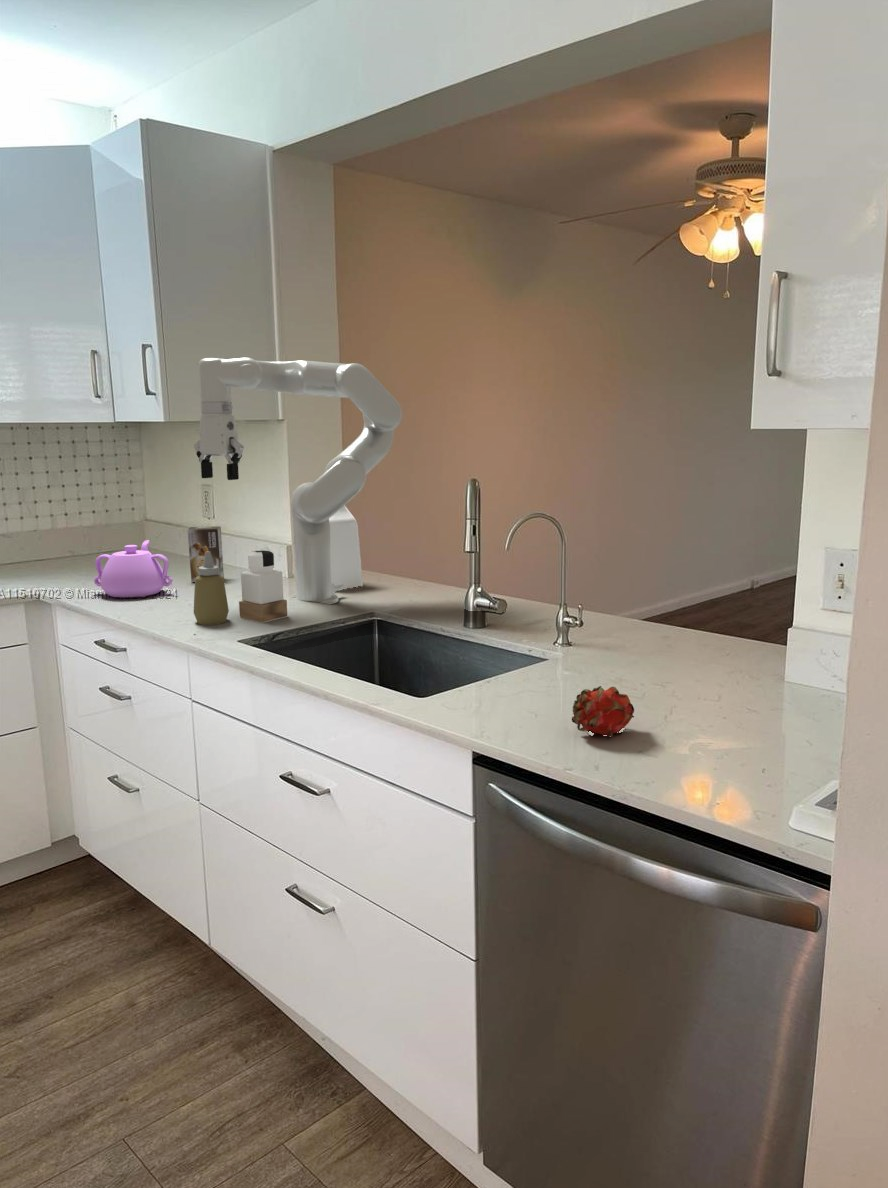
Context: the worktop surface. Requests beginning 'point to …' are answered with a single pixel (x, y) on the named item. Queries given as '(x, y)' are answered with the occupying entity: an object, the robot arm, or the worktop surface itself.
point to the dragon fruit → (602, 711)
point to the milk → (345, 549)
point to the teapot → (132, 572)
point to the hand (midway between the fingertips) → (220, 478)
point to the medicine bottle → (261, 579)
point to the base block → (263, 610)
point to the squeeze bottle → (210, 594)
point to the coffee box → (204, 548)
